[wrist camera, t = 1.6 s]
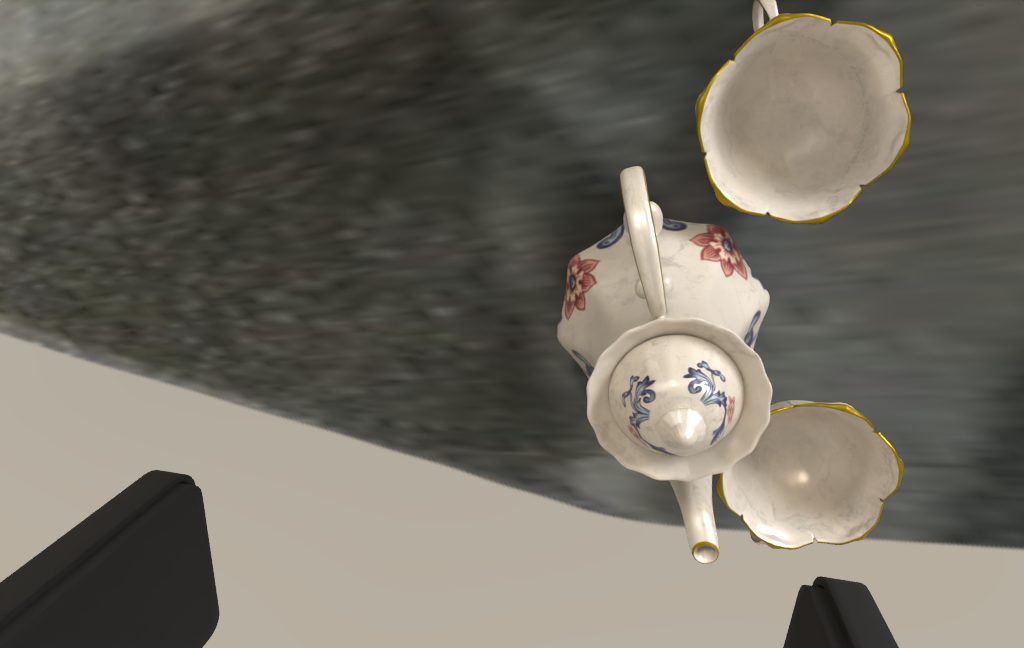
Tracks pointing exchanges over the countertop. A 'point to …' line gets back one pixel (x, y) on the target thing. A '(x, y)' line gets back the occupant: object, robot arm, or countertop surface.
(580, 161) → the countertop surface
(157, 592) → the robot arm
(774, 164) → the chinaware
